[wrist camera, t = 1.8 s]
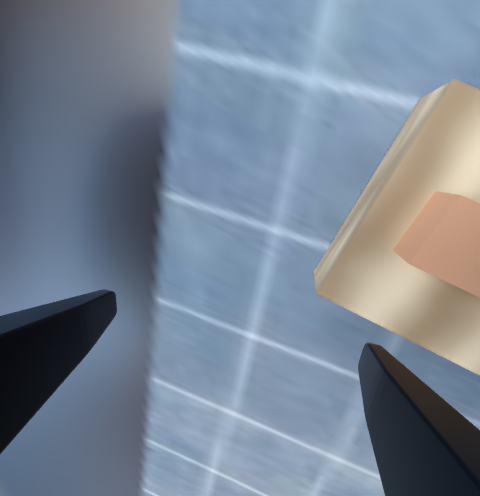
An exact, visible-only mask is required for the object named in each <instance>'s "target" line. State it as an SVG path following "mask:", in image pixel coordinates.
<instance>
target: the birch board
mask: <svg viewBox="0 0 480 496" xmlns="http://www.w3.org/2000/svg"><path fill="white" fill-rule="evenodd" d="M435 191H437V192H444V193H450V194H457V195H462V196H464V197H466V198H469V199H471V200H473V201H475V202H478V203H480V89H477V88H475V87H472V86H470V85H468V84H465V83H463V82H460V81H458V80H455V79H453V80H452V81H450V82H448V83H447V84H445V85H443V86H442V87H440V88H438V89H436V90H435V91H433V92H431V93H430V94H428V95H426V96H425V97H423V98H421V99H419V101H418V103H417V104H416V106H415V107H414V109H413V111H412V112H411V114H410V116H409V117H408V119H407V121H406V122H405V124H404V125H403V127H402V129H401V130H400V132H399V134H398V135H397V137H396V139H395V140H394V142H393V143H392V145H391V147H390V148H389V150H388V152H387V153H386V155H385V157H384V158H383V160H382V161H381V163H380V165H379V166H378V168H377V170H376V171H375V173H374V175H373V176H372V178H371V179H370V181H369V183H368V184H367V186H366V188H365V189H364V191H363V193H362V194H361V196H360V197H359V199H358V201H357V202H356V204H355V206H354V207H353V209H352V210H351V212H350V214H349V215H348V217H347V219H346V220H345V222H344V224H343V225H342V227H341V228H340V230H339V232H338V233H337V235H336V237H335V238H334V240H333V242H332V243H331V245H330V246H329V248H328V250H327V251H326V253H325V255H324V256H323V258H322V260H321V261H320V263H319V264H318V266H317V268H316V269H315V271H314V279H315V286H316V293H317V294H318V295H320V296H322V297H324V298H326V299H328V300H330V301H332V302H334V303H336V304H338V305H340V306H342V307H344V308H346V309H348V310H350V311H352V312H354V313H356V314H358V315H360V316H362V317H364V318H366V319H368V320H370V321H372V322H374V323H376V324H378V325H380V326H382V327H384V328H386V329H388V330H390V331H392V332H394V333H396V334H398V335H400V336H402V337H404V338H406V339H408V340H410V341H412V342H414V343H416V344H418V345H420V346H422V347H424V348H426V349H428V350H430V351H432V352H434V353H436V354H438V355H440V356H442V357H444V358H446V359H448V360H450V361H452V362H454V363H456V364H458V365H460V366H462V367H464V368H466V369H468V370H470V371H472V372H474V373H476V374H478V375H480V298H479V297H477V296H475V295H473V294H471V293H469V292H467V291H465V290H462V289H460V288H458V287H456V286H454V285H452V284H450V283H448V282H446V281H444V280H441V279H439V278H437V277H435V276H433V275H431V274H429V273H427V272H425V271H423V270H420V269H418V268H416V267H414V266H412V265H410V264H408V263H407V262H406V261H405V260H404V259H402V258H401V257H400V256H399V255H398V254H397V253H395V252H394V251H393V249H394V247H395V246H396V245H397V243H398V242H399V240H400V239H401V238H402V236H403V235H404V234H405V232H406V231H407V229H408V228H409V227H410V225H411V224H412V222H413V221H414V220H415V218H416V217H417V216H418V214H419V213H420V211H421V210H422V209H423V207H424V206H425V204H426V203H427V202H428V200H429V199H430V198H431V196H432V195H433V193H434V192H435Z"/></svg>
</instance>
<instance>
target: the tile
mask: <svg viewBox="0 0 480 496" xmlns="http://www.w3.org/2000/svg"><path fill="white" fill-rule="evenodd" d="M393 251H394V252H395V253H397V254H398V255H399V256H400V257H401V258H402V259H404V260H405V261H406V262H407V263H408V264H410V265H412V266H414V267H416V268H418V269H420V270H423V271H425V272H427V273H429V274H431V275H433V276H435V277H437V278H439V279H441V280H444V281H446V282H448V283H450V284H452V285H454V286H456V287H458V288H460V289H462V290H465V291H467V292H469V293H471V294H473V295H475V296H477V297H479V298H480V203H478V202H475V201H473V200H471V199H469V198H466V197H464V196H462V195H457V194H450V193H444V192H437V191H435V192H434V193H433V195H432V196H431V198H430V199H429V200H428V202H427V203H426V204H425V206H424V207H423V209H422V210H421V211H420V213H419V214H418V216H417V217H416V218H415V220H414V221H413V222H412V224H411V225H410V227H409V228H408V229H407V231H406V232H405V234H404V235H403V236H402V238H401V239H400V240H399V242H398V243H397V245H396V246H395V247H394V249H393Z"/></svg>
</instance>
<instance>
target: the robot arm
mask: <svg viewBox="0 0 480 496" xmlns="http://www.w3.org/2000/svg"><path fill="white" fill-rule="evenodd" d="M116 312H117V305H116V294H115V292H113V291H110V290H105V289H104V290H99V291H95V292H91V293H87V294H83V295H80V296H76V297H72V298H68V299H64V300H60V301H56V302H53V303H49V304H45V305H41V306H37V307H34V308H30V309H25V310H22V311H18V312H14V313H10V314H6V315H2V316H0V454H1V453H2V452H3V450H4V449H5V448H6V447H7V446H8V445H9V444H10V442H11V441H12V440H13V439H14V438H15V437H16V435H17V434H18V433H19V432H20V431H21V430H22V429H23V427H24V426H25V425H26V424H27V423H28V422H29V420H30V419H31V418H32V417H33V416H34V415H35V414H36V412H37V411H38V410H39V409H40V408H41V407H42V406H43V404H44V403H45V402H46V401H47V400H48V399H49V398H50V396H51V395H52V394H53V393H54V392H55V391H56V389H57V388H58V387H59V386H60V385H61V384H62V382H63V381H64V380H65V379H66V378H67V377H68V376H69V375H70V373H71V372H72V371H73V370H74V369H75V368H76V367H77V365H78V364H79V363H80V362H81V361H82V360H83V359H84V357H85V356H86V355H87V354H88V353H89V351H90V350H91V349H92V347H93V346H94V345H95V344H96V342H97V341H98V339H99V338H100V337H101V335H102V334H103V332H104V331H105V330H106V328H107V327H108V325H109V324H110V323H111V321H112V320H113V318H114V317H115V315H116ZM358 371H359V378H360V384H361V391H362V398H363V405H364V412H365V418H366V422H367V426H368V430H369V434H370V438H371V442H372V446H373V450H374V454H375V458H376V462H377V466H378V470H379V473H380V477H381V481H382V485H383V489H384V493H385V496H480V430H479V429H478V428H476V427H475V426H474V425H473V424H472V423H471V422H469V421H468V420H467V419H466V418H465V417H464V416H462V415H461V414H460V413H459V412H458V411H456V410H455V409H454V408H453V407H452V406H451V405H449V404H448V403H447V402H446V401H445V400H444V399H442V398H441V397H440V396H439V395H438V394H437V393H435V392H434V391H433V390H432V389H431V388H430V387H428V386H427V385H426V384H425V383H424V382H423V381H421V380H420V379H419V378H418V377H417V376H416V375H414V374H413V373H412V372H411V371H410V370H409V369H407V368H406V367H405V366H404V365H403V364H402V363H400V362H399V361H398V360H397V359H396V358H395V357H393V356H392V355H391V354H390V353H389V352H388V351H386V350H385V349H384V348H383V347H382V346H380V345H377V344H372V343H366V344H365V346H364V348H363V351H362V354H361V357H360V360H359V364H358Z"/></svg>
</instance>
